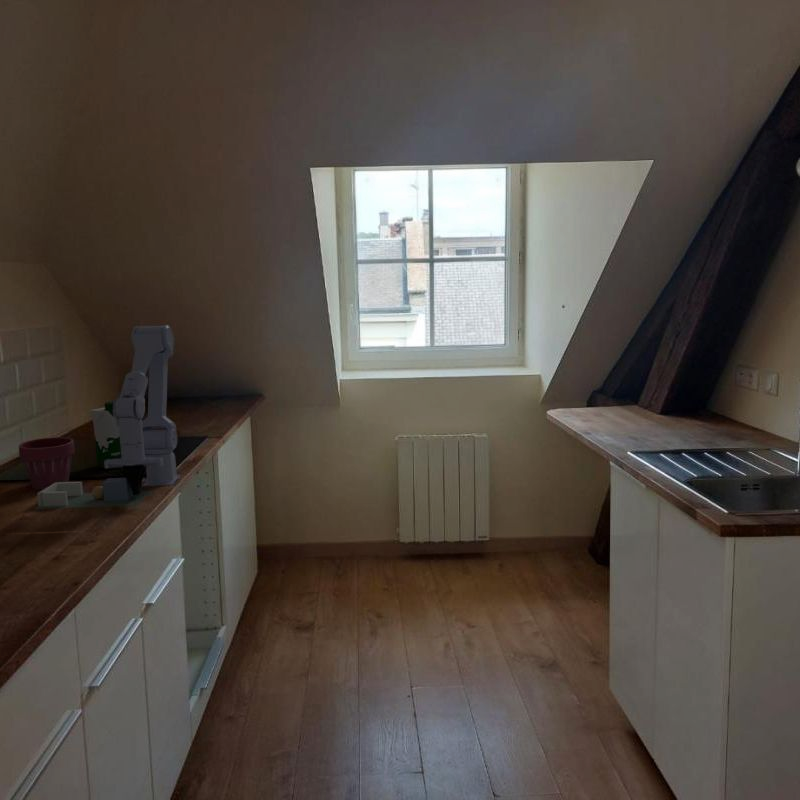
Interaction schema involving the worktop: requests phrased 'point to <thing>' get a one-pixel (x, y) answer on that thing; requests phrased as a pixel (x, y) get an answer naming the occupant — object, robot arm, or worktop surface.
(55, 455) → the plant pot
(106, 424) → the milk carton
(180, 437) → the worktop surface
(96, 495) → the ball
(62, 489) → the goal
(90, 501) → the pitch mat
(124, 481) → the block
